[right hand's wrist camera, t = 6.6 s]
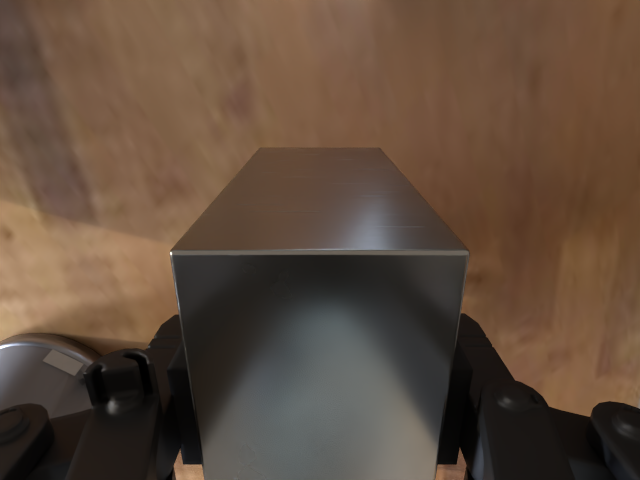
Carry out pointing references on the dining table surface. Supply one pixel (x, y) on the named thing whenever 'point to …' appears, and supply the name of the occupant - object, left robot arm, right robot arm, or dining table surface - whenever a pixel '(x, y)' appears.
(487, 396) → the right robot arm
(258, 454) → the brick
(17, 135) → the dining table surface
